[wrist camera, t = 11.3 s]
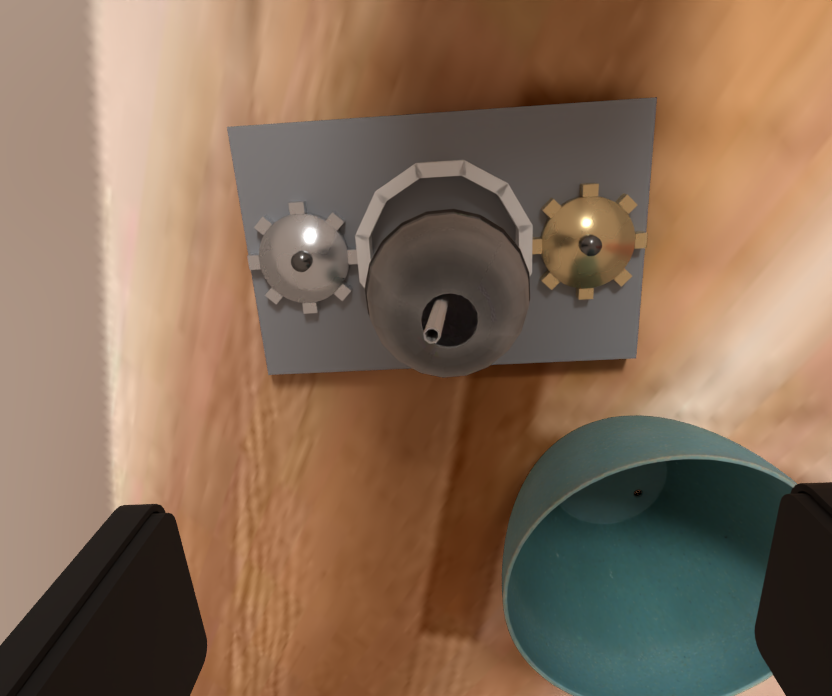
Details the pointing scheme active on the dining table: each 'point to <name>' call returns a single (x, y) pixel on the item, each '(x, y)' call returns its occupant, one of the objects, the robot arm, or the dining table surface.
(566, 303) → the gear board
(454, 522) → the dining table surface
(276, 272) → the gear
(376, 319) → the beverage cup
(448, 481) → the dining table surface
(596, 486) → the plant pot
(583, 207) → the gear
